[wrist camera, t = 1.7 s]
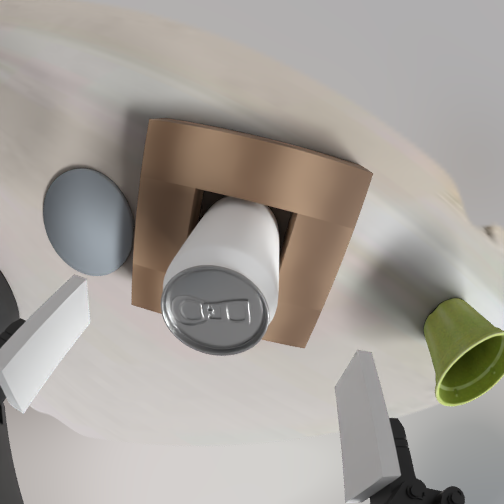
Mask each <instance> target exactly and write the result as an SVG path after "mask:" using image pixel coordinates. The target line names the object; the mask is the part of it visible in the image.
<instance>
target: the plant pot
mask: <svg viewBox="0 0 504 504" xmlns="http://www.w3.org/2000/svg"><path fill="white" fill-rule="evenodd" d="M424 335H425V338H426V342H427V345H428V348H429V351H430V355H431V358H432V362H433V365H434V369H435V373H436V387H435V395H436V398H437V400H438V402H439V403H441V404H442V405H445V406H457V405H462V404H465V403H468V402H470V401H472V400H475V399H476V398H478V397H480V396H481V395H483V394H484V393H486V392H487V391H488V390H490V389H491V388H492V387H493V386H494V385H495V384H496V383H498V381H499V380H500V379H501V378H502V377H503V375H504V331H502V330H501V329H499V328H497V327H494V326H493V325H492V324H491V323H490V322H489V321H488V320H486V319H485V318H484V317H483V316H482V315H480V314H479V313H478V312H477V311H476V310H475V309H474V308H472V307H471V306H470V305H469V304H468V303H467V302H465V301H464V300H462V299H458V298H453V299H449V300H446V301H444V302H442V303H441V304H439V305H438V307H437V308H436V310H435V311H434V312H433V313H432V314H430V315H429V316H428V318H427V320H426V322H425V325H424Z"/></svg>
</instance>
